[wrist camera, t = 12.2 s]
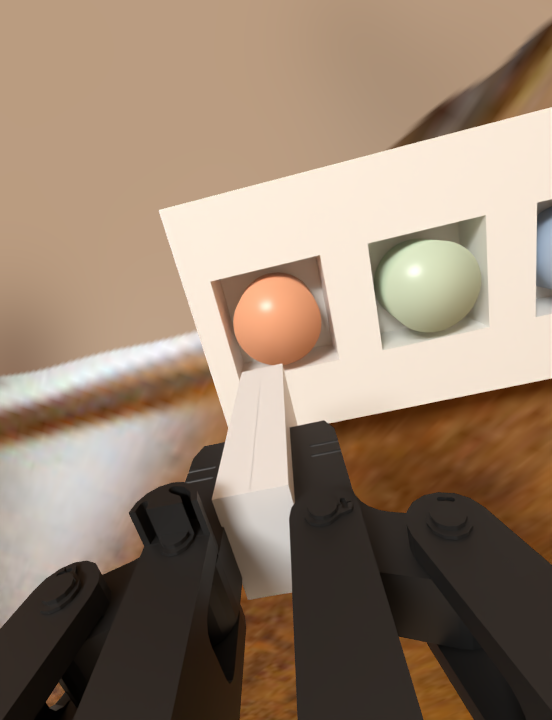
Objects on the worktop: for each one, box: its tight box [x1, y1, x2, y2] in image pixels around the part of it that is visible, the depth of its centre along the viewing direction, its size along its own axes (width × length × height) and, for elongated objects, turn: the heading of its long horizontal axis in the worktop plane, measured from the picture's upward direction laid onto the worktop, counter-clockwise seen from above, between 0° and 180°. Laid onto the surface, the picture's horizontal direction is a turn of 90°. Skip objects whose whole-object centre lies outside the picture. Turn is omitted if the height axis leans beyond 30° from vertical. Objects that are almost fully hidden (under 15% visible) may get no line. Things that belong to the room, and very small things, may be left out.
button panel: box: [159, 107, 552, 428], centre depth 21 cm, size 26×14×4 cm, turn 103°
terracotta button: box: [233, 272, 321, 365], centre depth 21 cm, size 5×5×3 cm
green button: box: [374, 239, 481, 333], centre depth 21 cm, size 5×5×3 cm
